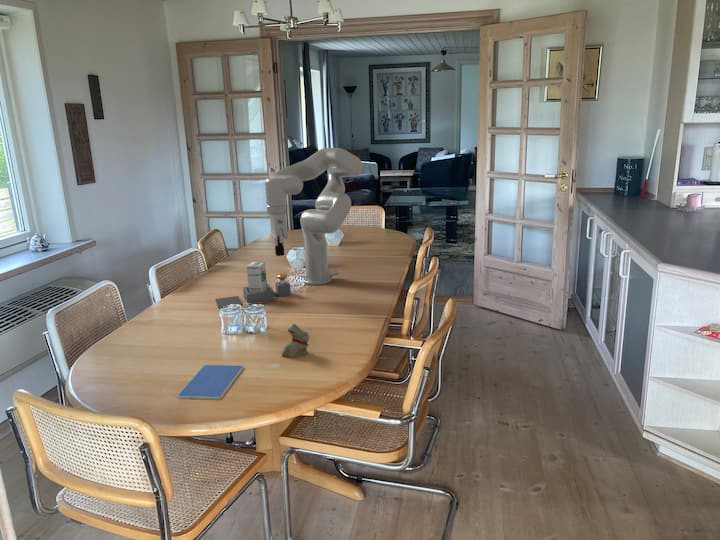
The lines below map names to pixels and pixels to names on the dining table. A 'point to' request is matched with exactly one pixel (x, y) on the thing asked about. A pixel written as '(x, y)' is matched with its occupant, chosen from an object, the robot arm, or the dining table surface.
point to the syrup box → (256, 277)
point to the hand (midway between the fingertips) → (280, 255)
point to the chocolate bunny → (296, 343)
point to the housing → (267, 293)
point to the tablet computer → (211, 382)
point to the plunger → (282, 278)
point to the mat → (228, 301)
